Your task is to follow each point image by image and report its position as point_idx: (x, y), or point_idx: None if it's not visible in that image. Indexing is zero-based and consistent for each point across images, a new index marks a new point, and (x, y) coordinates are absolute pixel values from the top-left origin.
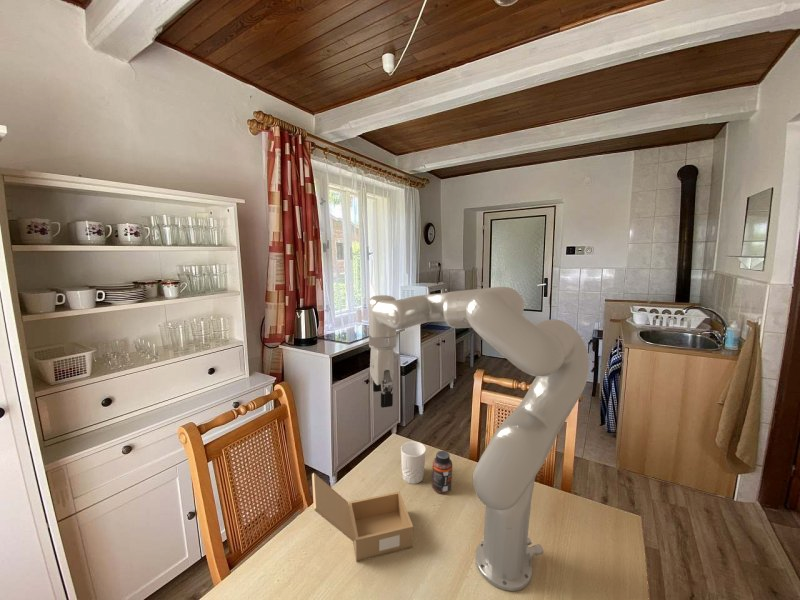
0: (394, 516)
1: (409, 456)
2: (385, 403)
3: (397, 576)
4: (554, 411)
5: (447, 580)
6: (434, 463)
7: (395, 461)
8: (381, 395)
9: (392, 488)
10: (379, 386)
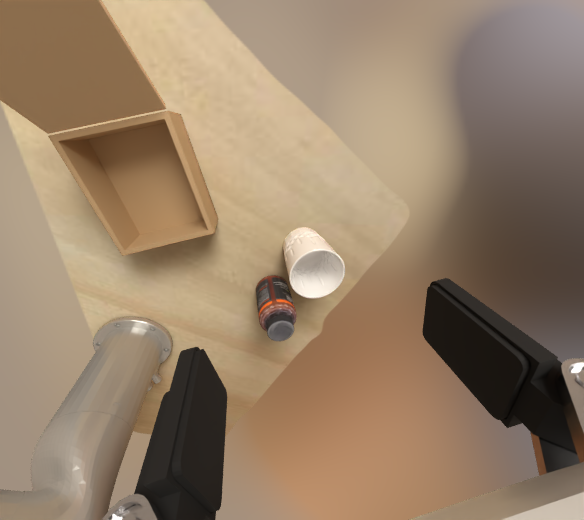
0: (198, 210)
1: (291, 266)
2: (162, 406)
3: (75, 211)
4: None
5: (91, 280)
6: (273, 307)
7: (348, 215)
8: (153, 460)
9: (274, 207)
10: (451, 341)
